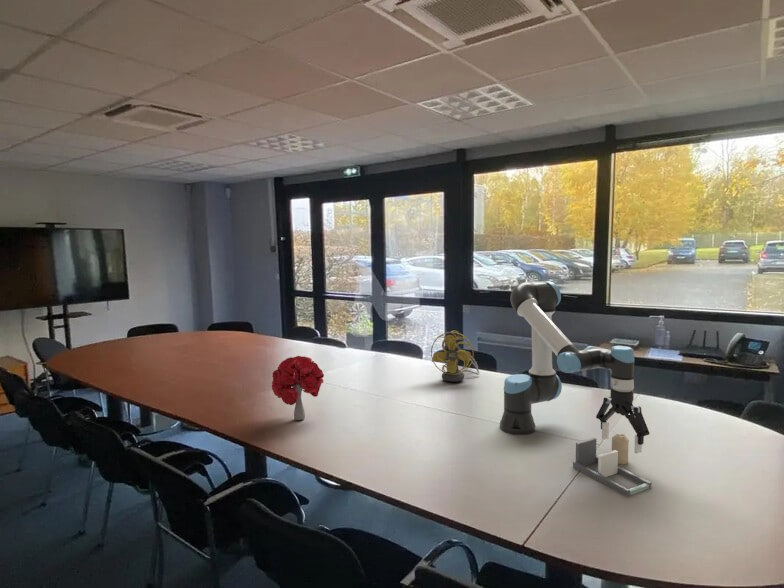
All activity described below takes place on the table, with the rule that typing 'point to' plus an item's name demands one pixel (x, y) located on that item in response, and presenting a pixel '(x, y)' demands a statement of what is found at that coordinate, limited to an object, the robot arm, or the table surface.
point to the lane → (588, 456)
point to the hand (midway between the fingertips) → (621, 445)
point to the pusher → (608, 463)
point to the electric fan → (453, 357)
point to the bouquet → (297, 382)
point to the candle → (621, 447)
